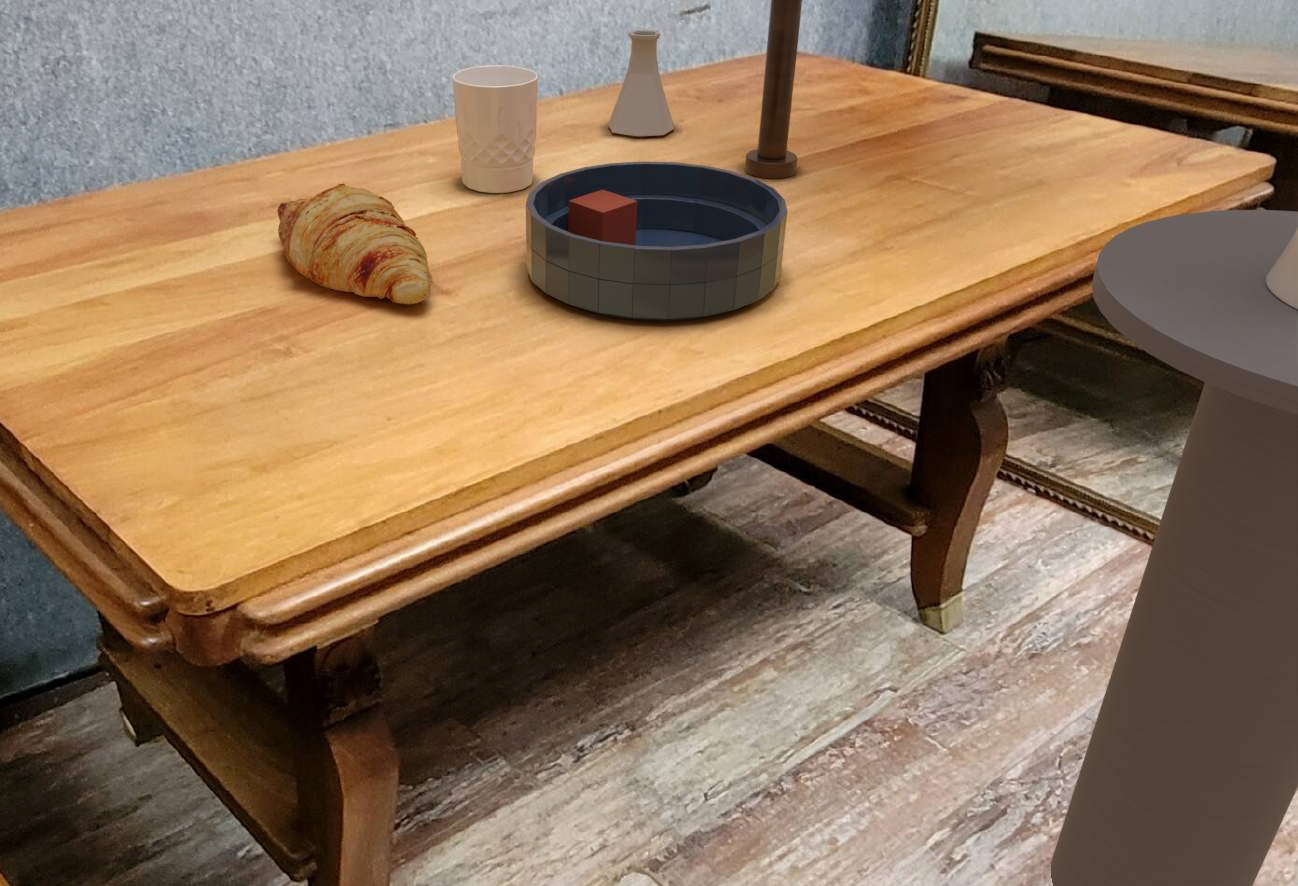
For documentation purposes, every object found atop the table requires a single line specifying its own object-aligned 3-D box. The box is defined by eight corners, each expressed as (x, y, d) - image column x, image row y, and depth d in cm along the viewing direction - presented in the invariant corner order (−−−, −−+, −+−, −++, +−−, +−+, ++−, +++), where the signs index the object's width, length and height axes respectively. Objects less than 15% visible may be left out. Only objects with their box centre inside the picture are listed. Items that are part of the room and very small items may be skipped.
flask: (671, 140, 130) (676, 41, 125) (603, 137, 132) (605, 38, 126) (677, 121, 136) (682, 25, 131) (612, 118, 137) (614, 23, 132)
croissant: (458, 344, 97) (495, 247, 95) (356, 320, 89) (394, 214, 87) (317, 260, 110) (346, 174, 108) (218, 233, 103) (248, 140, 101)
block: (635, 247, 103) (637, 200, 101) (602, 260, 101) (603, 212, 99) (601, 235, 106) (602, 189, 104) (568, 246, 103) (568, 200, 101)
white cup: (548, 173, 121) (548, 68, 116) (524, 199, 115) (523, 89, 110) (473, 166, 123) (469, 62, 118) (444, 191, 117) (439, 82, 111)
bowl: (821, 261, 102) (829, 190, 99) (700, 349, 88) (706, 270, 85) (614, 213, 112) (616, 147, 109) (477, 286, 98) (474, 212, 95)
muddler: (804, 169, 122) (826, -27, 113) (780, 182, 119) (801, -19, 109) (760, 159, 125) (777, -33, 115) (735, 172, 122) (751, -25, 112)
